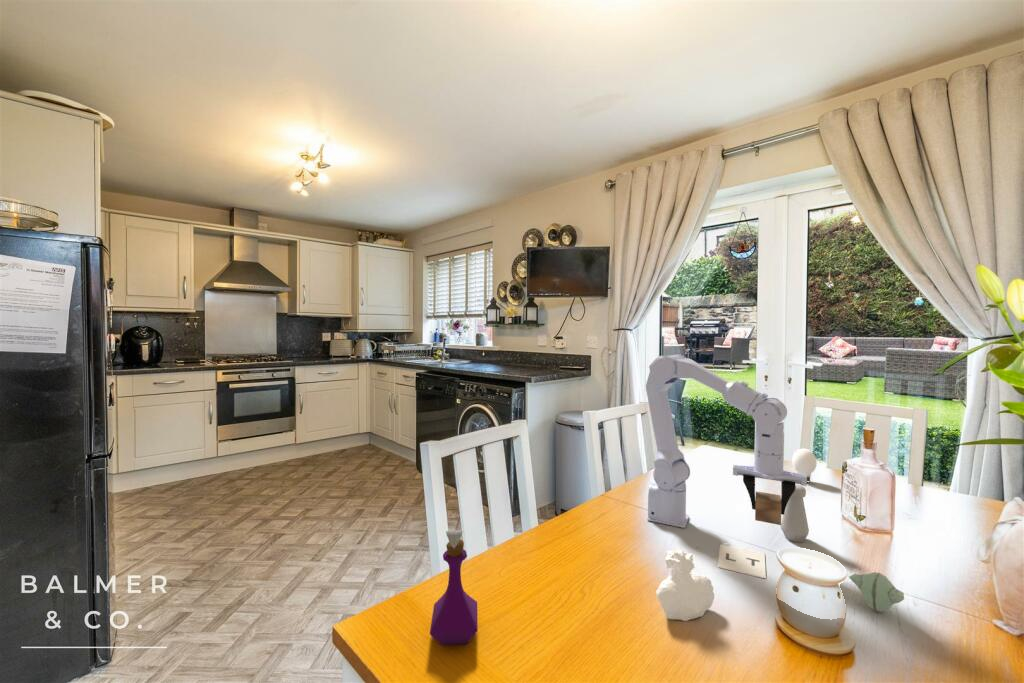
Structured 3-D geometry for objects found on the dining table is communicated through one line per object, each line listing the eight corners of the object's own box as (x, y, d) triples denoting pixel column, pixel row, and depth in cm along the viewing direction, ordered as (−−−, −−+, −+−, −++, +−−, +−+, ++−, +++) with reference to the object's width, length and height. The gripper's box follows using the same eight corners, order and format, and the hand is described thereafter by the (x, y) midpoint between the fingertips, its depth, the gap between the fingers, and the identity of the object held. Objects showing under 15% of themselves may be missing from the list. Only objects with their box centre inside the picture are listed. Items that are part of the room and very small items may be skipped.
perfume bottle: (434, 622, 76) (433, 520, 75) (477, 619, 76) (477, 518, 76) (429, 654, 68) (429, 541, 68) (477, 651, 69) (477, 539, 68)
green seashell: (846, 602, 81) (847, 567, 81) (855, 595, 83) (856, 560, 83) (902, 627, 75) (903, 588, 74) (909, 618, 77) (911, 580, 77)
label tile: (717, 567, 93) (717, 566, 93) (720, 544, 103) (720, 543, 103) (765, 578, 89) (765, 577, 89) (764, 554, 98) (764, 553, 98)
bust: (707, 613, 82) (681, 549, 88) (734, 608, 76) (704, 539, 82) (655, 628, 77) (631, 560, 83) (679, 624, 72) (652, 551, 78)
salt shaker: (813, 545, 103) (814, 490, 102) (786, 542, 104) (787, 489, 104) (802, 533, 108) (803, 482, 108) (776, 531, 110) (777, 480, 109)
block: (755, 520, 99) (755, 498, 99) (755, 511, 103) (755, 491, 103) (780, 525, 97) (781, 503, 96) (779, 516, 101) (780, 495, 101)
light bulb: (787, 478, 149) (787, 446, 149) (805, 477, 150) (806, 445, 149) (802, 485, 142) (803, 451, 142) (821, 484, 143) (822, 451, 143)
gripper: (732, 451, 100) (731, 510, 100) (809, 461, 93) (807, 524, 93) (734, 444, 106) (733, 499, 106) (805, 453, 99) (804, 512, 99)
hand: (767, 510), depth 100 cm, fingers closed on block, 5 cm apart
